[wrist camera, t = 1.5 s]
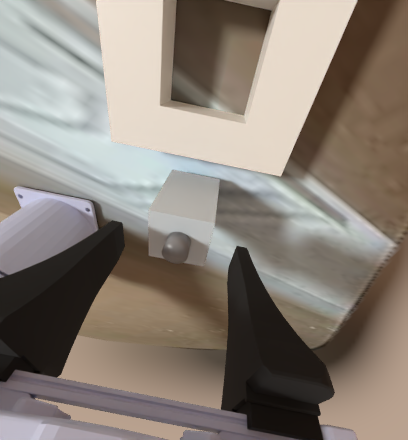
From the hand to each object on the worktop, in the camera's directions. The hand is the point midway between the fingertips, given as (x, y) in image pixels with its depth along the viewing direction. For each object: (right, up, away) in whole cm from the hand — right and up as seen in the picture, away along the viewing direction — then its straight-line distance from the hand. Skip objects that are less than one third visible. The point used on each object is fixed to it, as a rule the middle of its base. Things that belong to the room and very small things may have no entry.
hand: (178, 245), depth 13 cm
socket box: (+2, +12, 0) cm, 12 cm away
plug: (+1, +4, +6) cm, 8 cm away
